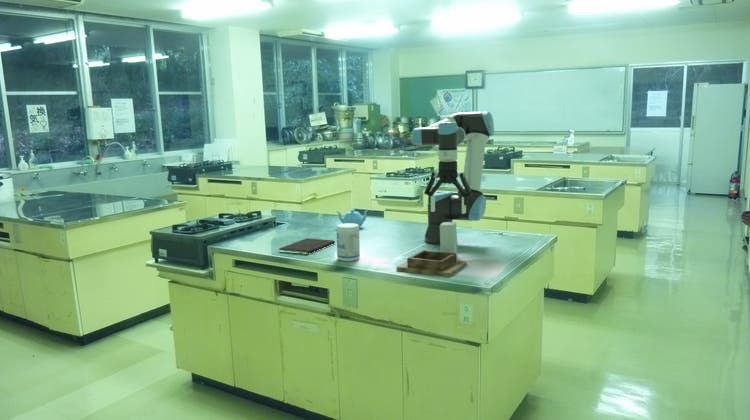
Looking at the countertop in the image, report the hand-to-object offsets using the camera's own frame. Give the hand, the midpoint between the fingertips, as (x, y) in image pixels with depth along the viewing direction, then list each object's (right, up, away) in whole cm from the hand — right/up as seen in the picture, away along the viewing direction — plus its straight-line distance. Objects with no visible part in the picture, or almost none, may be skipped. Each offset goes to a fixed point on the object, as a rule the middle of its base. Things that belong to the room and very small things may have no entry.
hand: (448, 212), depth 222 cm
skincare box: (+1, -19, +3) cm, 20 cm away
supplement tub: (-41, -20, +7) cm, 46 cm away
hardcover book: (-61, -18, +30) cm, 70 cm away
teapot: (-42, -9, +74) cm, 86 cm away
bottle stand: (-8, -22, -11) cm, 26 cm away
